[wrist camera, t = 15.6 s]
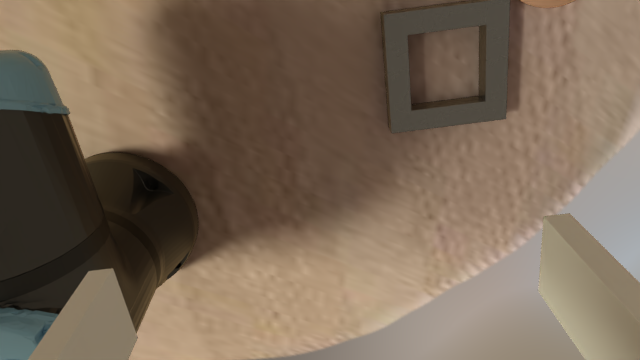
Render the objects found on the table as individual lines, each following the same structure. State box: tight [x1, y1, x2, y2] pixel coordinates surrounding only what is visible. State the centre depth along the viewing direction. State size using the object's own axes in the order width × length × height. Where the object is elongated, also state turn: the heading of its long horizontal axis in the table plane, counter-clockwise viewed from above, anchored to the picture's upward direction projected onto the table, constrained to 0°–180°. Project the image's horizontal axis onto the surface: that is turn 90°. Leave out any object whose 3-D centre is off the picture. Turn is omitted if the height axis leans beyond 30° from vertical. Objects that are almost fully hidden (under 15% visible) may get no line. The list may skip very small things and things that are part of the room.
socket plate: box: [380, 0, 510, 133], centre depth 47 cm, size 11×11×2 cm
